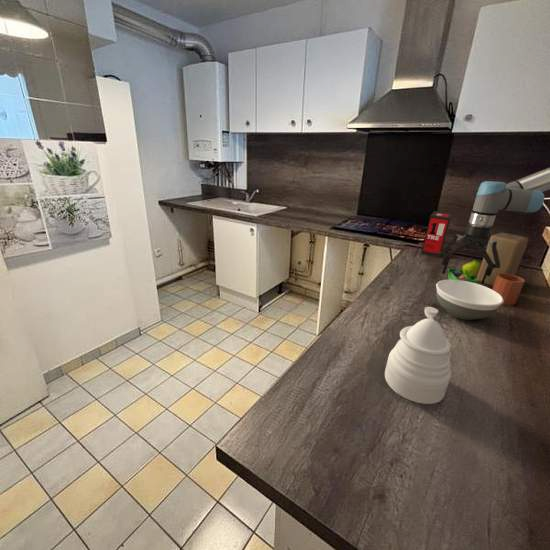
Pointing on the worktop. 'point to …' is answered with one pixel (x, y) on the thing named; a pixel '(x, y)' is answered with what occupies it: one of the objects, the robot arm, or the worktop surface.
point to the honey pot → (420, 362)
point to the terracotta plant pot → (508, 287)
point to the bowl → (467, 299)
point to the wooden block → (504, 256)
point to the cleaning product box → (436, 233)
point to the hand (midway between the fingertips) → (462, 277)
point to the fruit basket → (465, 272)
